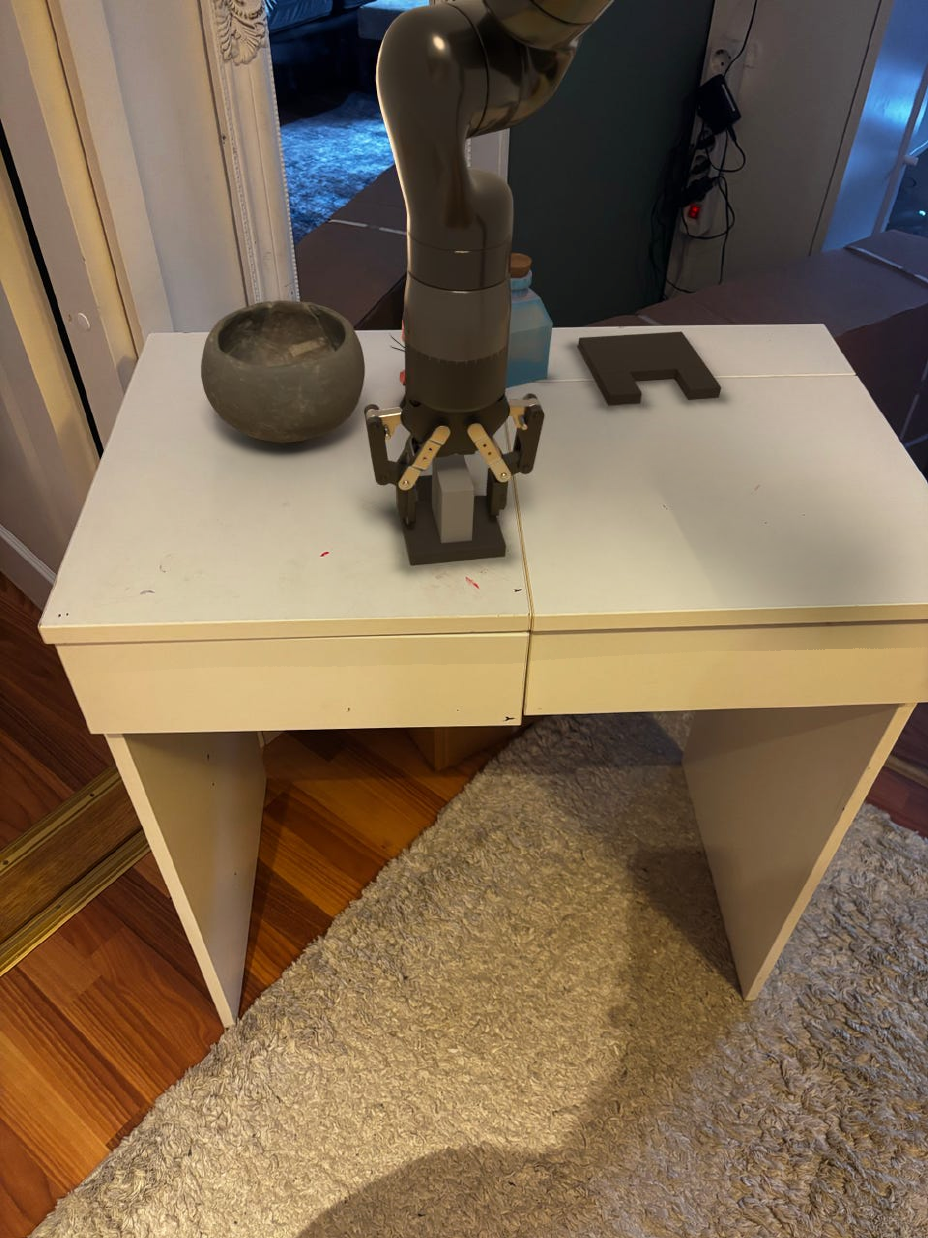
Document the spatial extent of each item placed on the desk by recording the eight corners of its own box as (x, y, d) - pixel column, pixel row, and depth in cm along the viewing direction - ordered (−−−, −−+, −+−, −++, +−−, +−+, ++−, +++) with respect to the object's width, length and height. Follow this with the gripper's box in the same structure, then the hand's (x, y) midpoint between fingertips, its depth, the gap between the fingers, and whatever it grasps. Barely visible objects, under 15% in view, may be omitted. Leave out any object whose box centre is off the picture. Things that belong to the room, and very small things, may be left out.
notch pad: (679, 340, 105) (681, 331, 104) (719, 397, 97) (721, 387, 96) (577, 347, 103) (578, 337, 103) (608, 405, 95) (610, 395, 94)
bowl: (207, 394, 94) (189, 300, 87) (353, 379, 97) (348, 287, 90) (217, 480, 84) (198, 381, 77) (380, 460, 87) (376, 364, 80)
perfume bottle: (518, 351, 102) (527, 242, 94) (546, 378, 99) (558, 267, 90) (468, 362, 100) (472, 252, 92) (495, 390, 96) (502, 278, 88)
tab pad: (481, 481, 85) (484, 420, 81) (505, 556, 78) (510, 494, 73) (394, 488, 84) (392, 426, 79) (410, 565, 77) (409, 502, 72)
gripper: (361, 362, 63) (370, 551, 74) (567, 350, 65) (545, 535, 77) (351, 310, 68) (361, 494, 80) (542, 300, 70) (524, 481, 82)
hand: (451, 513), depth 78 cm, fingers open, 6 cm apart
